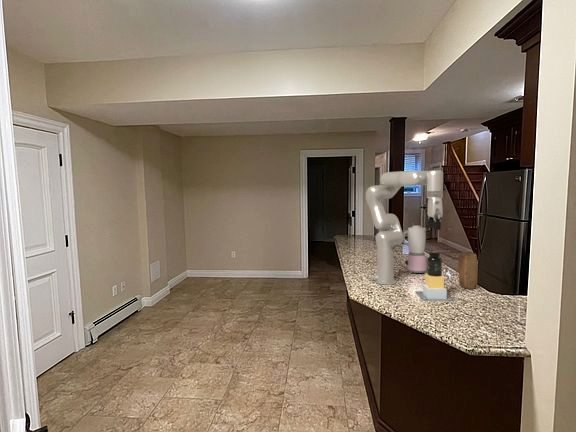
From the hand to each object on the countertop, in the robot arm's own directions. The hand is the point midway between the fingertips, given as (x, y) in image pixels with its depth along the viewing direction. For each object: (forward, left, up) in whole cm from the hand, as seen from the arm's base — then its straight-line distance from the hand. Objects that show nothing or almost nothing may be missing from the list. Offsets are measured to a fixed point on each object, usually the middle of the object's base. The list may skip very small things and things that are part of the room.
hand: (433, 228), depth 168 cm
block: (+24, +22, -36) cm, 49 cm away
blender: (+3, +57, -36) cm, 67 cm away
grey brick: (0, 0, -35) cm, 35 cm away
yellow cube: (0, 0, -30) cm, 30 cm away
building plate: (0, 0, -36) cm, 36 cm away
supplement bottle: (0, 0, -24) cm, 24 cm away
